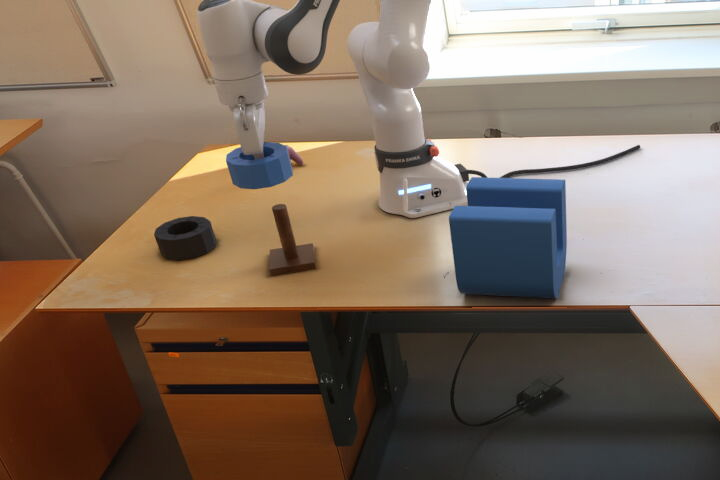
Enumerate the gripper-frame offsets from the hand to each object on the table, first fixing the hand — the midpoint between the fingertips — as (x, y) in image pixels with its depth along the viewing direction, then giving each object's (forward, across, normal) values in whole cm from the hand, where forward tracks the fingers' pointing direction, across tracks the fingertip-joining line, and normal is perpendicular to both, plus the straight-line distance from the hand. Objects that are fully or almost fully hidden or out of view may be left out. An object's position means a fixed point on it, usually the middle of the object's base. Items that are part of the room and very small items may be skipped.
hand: (261, 160), depth 153 cm
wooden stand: (+21, -5, -1) cm, 21 cm away
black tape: (+20, +10, +21) cm, 31 cm away
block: (+21, -28, -43) cm, 56 cm away
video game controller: (+21, +49, +1) cm, 53 cm away
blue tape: (+2, -4, 0) cm, 5 cm away
